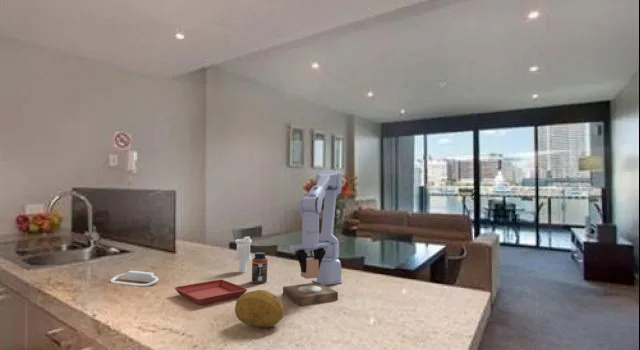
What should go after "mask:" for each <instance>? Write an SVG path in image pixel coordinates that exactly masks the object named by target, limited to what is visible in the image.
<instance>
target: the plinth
mask: <svg viewBox="0 0 640 350" xmlns="http://www.w3.org/2000/svg"><path fill="white" fill-rule="evenodd" d="M282 295H284V296H286V298H288V299H289V300H291V301H293V302H294V303H295V304H297V305H298V306H306V305H312V304H319V303H320V304H321V303H325V302H331V301H338V299H339V292H338V291H337V290H334V289H333V288H330V287H329V286H328V285H323V284H321V283H319V282H308V283H302V284H295V285H294V284H292V285H286V286H282Z"/></svg>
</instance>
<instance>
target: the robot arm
mask: <svg viewBox="0 0 640 350" xmlns="http://www.w3.org/2000/svg"><path fill="white" fill-rule="evenodd" d="M315 182H316V183H315V185H313V186H312V187H311V189H310V190H309V191H308V193H307V195H306V196H303V197H302V198H301V199H300V202H299V211H300V216H301V219H302V223H301V226H302V228H301V229H302V231H301V236H302V237H301V241H302V242H301V243H298V244H291V245H289V251H290V252H292V253H295V255H296V258H297V260H298V263H299V267H300V273H301V272H303V273H305V272H306V259H307V258H308V252H306V251H312V252H311V253H312V256H313V258H315V259H318V260H319V277H318V278H312V280H311V281H312V282H313V283H316V282H319V283H321V284H323V285H325V286H328V285H336V284H342V283H343V281H342V264H341V260H340V259H339V255H340V240H339V238H337V237H336V236H335V235H334V227H335V213H336V203H337V197H338V195H339V194H341V193H342V188H343V175H342V172H341V171H340V170H339V171H319V170H318V171H317V172H316V175H315ZM322 209H323V212H322ZM320 213H322V221H321V231H320Z"/></svg>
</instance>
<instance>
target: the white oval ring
mask: <svg viewBox="0 0 640 350" xmlns="http://www.w3.org/2000/svg"><path fill="white" fill-rule="evenodd" d="M123 277H124V278H125V280H128V281H137V283H135V282H128V281H117V279H119V278H123ZM159 279H160V278H159V277H158V276H156V275H155V273H154V272H151V271H149V272H148V271H139V270H129V271H126V272H124V273H120V274H116V275H115V276H114V277H112V278H111V279H110V283H111V284H113V285H114V284H115V285H125V286H132V287H141V288H144V287H145V288H146V287H147V288H148V287H151V286H153V285H155V284H156V283H157V282H158V281H159ZM138 282H142V283H138ZM143 282H146V283H143Z"/></svg>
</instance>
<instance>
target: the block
mask: <svg viewBox="0 0 640 350" xmlns="http://www.w3.org/2000/svg"><path fill="white" fill-rule="evenodd" d="M300 277H302V278H304V279H306V280H309V279H316V278H318V277H319V260H318V259H315V258H314V257H307V259H306V272H305V273H303V272H301V271H300Z"/></svg>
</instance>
